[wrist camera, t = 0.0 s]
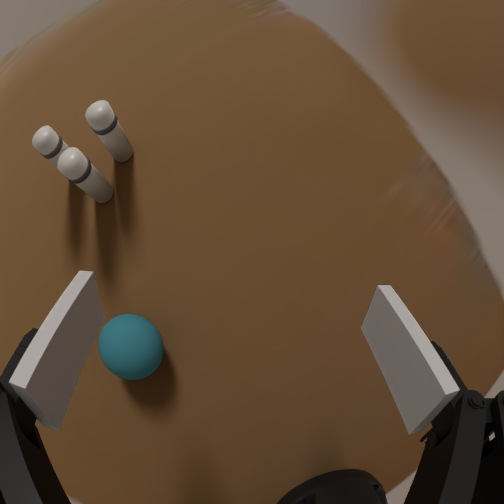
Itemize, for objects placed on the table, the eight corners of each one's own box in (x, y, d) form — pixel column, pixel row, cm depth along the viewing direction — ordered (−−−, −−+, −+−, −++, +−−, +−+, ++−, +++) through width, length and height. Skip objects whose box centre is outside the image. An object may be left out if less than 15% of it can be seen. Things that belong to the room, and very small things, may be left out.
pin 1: (83, 180, 27) (47, 147, 19) (66, 181, 27) (28, 150, 19) (88, 160, 28) (55, 123, 19) (71, 161, 27) (36, 127, 19)
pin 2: (131, 162, 28) (105, 121, 20) (111, 162, 28) (81, 123, 20) (135, 142, 29) (113, 98, 20) (115, 143, 28) (89, 101, 20)
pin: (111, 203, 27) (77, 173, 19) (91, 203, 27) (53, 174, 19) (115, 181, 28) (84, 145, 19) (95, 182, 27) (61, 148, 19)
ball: (168, 373, 26) (156, 393, 20) (113, 366, 25) (89, 382, 19) (169, 314, 27) (155, 320, 21) (112, 309, 26) (87, 312, 20)
